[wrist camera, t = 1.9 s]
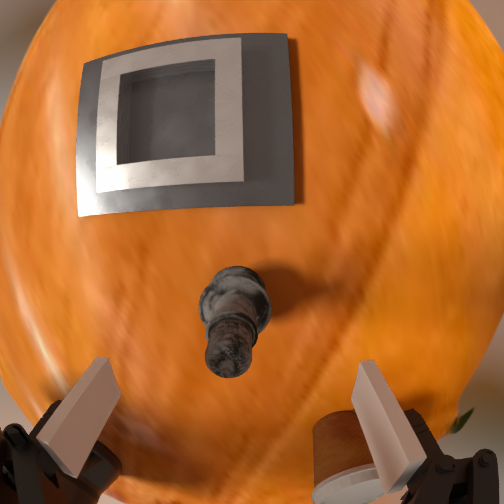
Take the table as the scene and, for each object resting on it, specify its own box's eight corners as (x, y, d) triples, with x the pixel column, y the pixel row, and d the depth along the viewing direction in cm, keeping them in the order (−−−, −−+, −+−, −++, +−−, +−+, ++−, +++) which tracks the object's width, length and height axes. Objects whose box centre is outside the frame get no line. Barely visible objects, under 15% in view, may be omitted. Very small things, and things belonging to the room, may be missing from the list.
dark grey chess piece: (193, 297, 26) (154, 378, 14) (230, 249, 25) (211, 309, 13) (243, 332, 26) (237, 424, 15) (282, 288, 25) (303, 369, 14)
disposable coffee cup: (287, 440, 31) (295, 513, 19) (326, 395, 29) (350, 476, 17) (342, 448, 32) (360, 511, 20) (382, 407, 30) (414, 473, 18)
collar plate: (84, 215, 24) (64, 220, 20) (88, 66, 20) (71, 55, 16) (292, 204, 24) (299, 208, 20) (285, 38, 20) (290, 20, 16)
